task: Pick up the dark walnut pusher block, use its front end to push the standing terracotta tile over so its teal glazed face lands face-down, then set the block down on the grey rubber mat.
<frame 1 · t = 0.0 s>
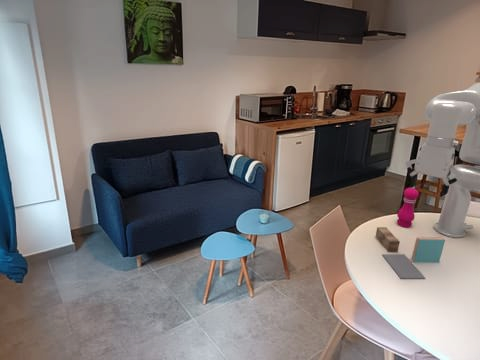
hand: (427, 190, 112), 31 cm above the table, tool pointing down, fingers open, 9 cm apart
tile: (425, 260, 128), on the table
pusher block: (385, 244, 139), on the table
mat: (402, 266, 124), on the table
pepper mill: (403, 224, 157), on the table
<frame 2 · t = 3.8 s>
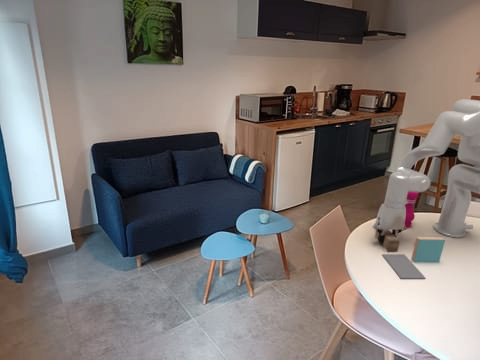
hand: (386, 242, 139), 1 cm above the table, tool pointing down, fingers closed on pusher block, 4 cm apart
pusher block: (385, 244, 139), on the table, touching gripper
everything else where it was.
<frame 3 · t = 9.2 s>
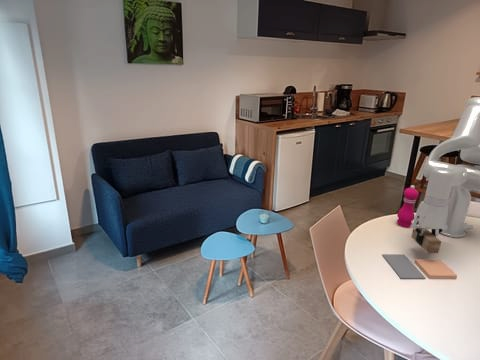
hand: (424, 242, 129), 6 cm above the table, tool pointing down, fingers closed on pusher block, 4 cm apart
tile: (427, 261, 127), on the table, tilted 90°
pusher block: (424, 244, 129), point 5 cm above the table, touching gripper
everything else where it was.
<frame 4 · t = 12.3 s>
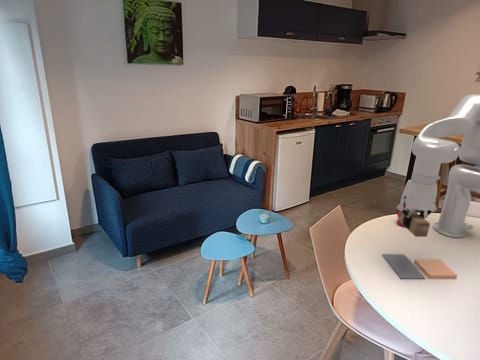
hand: (412, 225, 118), 17 cm above the table, tool pointing down, fingers closed on pusher block, 4 cm apart
pusher block: (411, 228, 118), point 16 cm above the table, touching gripper
everything else where it was.
when the fingers open (3 cm above the table, at t = 15.2 s): pusher block drops 1 cm, resting on mat.
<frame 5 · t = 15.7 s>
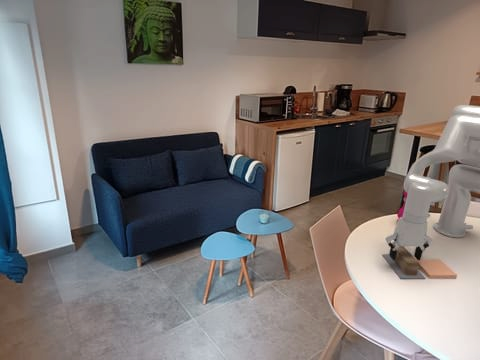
hand: (404, 258, 123), 4 cm above the table, tool pointing down, fingers open, 9 cm apart
pusher block: (402, 265, 124), resting on mat
everything else where it was.
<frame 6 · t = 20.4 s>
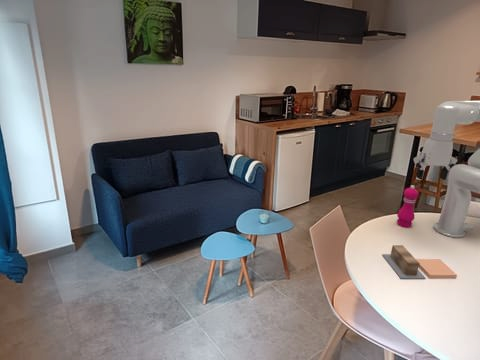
hand: (430, 178, 134), 28 cm above the table, tool pointing down, fingers open, 9 cm apart
nothing on the table moved.
at the end: tile tilted 90°; tile inside the target area (2.5 cm from its centre), on the table; pusher block inside the target area on the mat (0.1 cm from its centre), point 0.5 cm above the mat's base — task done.
